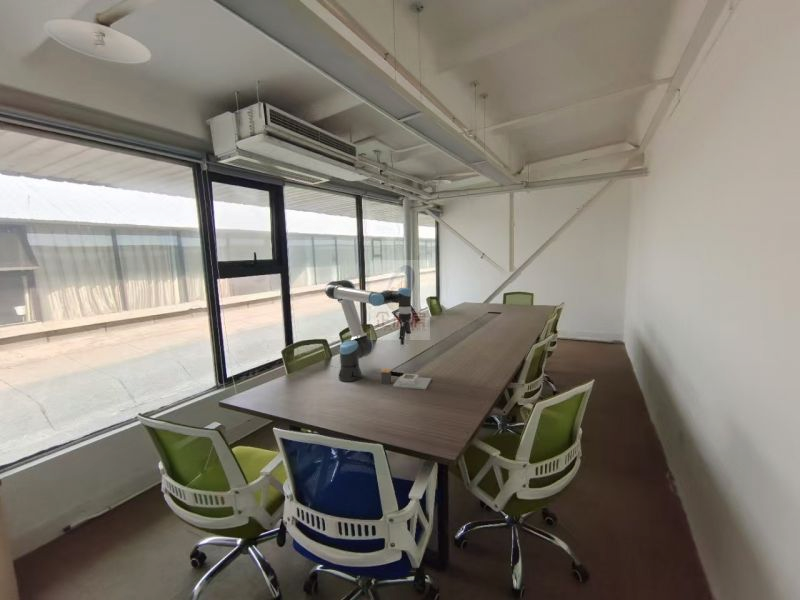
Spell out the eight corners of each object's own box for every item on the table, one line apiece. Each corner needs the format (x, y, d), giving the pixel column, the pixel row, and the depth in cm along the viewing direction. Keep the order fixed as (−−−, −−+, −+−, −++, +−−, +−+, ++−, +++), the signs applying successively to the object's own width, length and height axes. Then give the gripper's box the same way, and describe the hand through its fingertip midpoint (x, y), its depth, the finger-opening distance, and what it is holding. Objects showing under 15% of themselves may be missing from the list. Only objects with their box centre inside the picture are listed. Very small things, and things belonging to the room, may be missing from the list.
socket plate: (392, 386, 199) (392, 380, 198) (400, 377, 214) (400, 371, 213) (425, 389, 193) (425, 382, 192) (431, 379, 208) (431, 373, 208)
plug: (381, 383, 205) (381, 370, 204) (383, 381, 209) (383, 368, 208) (389, 384, 203) (388, 371, 202) (391, 381, 207) (390, 369, 206)
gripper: (406, 316, 193) (406, 352, 196) (414, 309, 217) (415, 341, 220) (393, 316, 195) (394, 351, 198) (403, 309, 219) (404, 341, 222)
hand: (405, 346), depth 209 cm, fingers open, 13 cm apart
